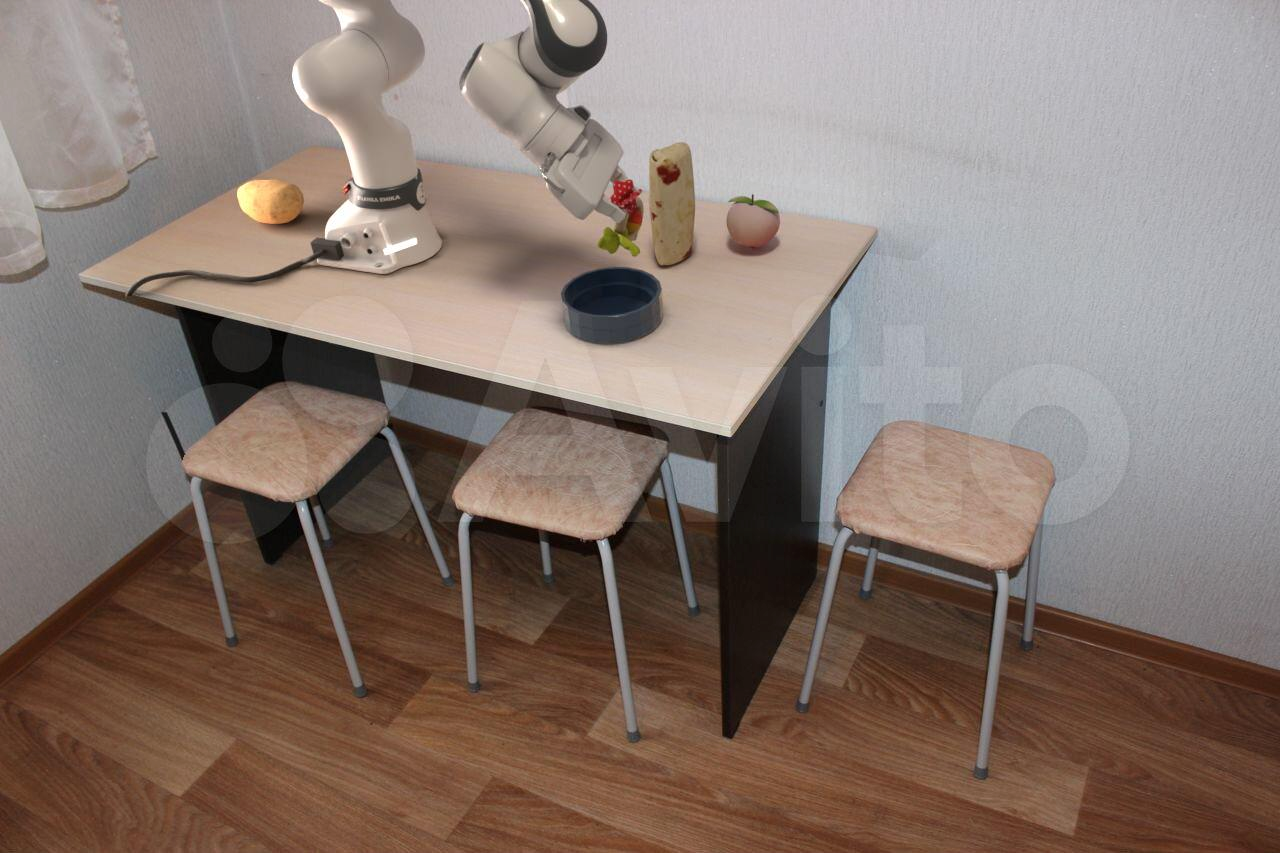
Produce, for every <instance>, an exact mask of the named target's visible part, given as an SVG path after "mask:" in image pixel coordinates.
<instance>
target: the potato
mask: <svg viewBox="0 0 1280 853" xmlns="http://www.w3.org/2000/svg"><path fill="white" fill-rule="evenodd" d="M236 194H237V196H236V197H237V200H238V203H239V204H238V205H239V206H240V209H241V211H243V212H244V213H245V214H246V215H247V216H248V217H250V218H251V219H252V220H254V221H256V222H259V223H262V224H267V225H268V224H270V225H271V224H273V225H276V224H277V225H279V224H287V223H290V222H291V221H293V220H295V219H296V218H297V217H298V215H300V213H301V212H302V210H303V207H304V203H305V198H304V194H303V192H302V190H301V189H300V187H299V186H297V185H295V184H294V183H290V182H286V181H284V180H281V179H253V180H250V181H247V182H246V183H244V184H242V185H241V186H240V187H238V189H237V193H236Z"/></svg>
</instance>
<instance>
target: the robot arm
mask: <svg viewBox="0 0 1280 853" xmlns="http://www.w3.org/2000/svg"><path fill="white" fill-rule="evenodd" d="M318 1H319V2H320V3H322V4H323V5H326V6H328V7H331V8H332V9H333V10H334V12H335V14H336V16H337V18H338V20H339V23H340V32H339V33H337V34H333V35H332V36H330V37H328V38H325V39H322V40H320V41H318V42H316V43H314V44H312V46H310V48H308V49H307V50H306V51H305V52H303V53H302V54H301V55H300V56H299V57H298V58H297V59H296V60H295V62H294V64H293V67H292V72H291V73H292V82H293V86H294V89H295V92H296V94H297V96H298V97H299V99H300V100H301V102H302V103H303V104H304V105H305V106H306V107H307V108H308V109H310V110H311V111H313V112H314V113H316V114H318V115H320V116H323V117H324V118H326V119H327V120H328V121H329V122H330V123H331V124H332V125H333V127H334V129H336V131H337V132H338V134H339V136H340V138H341V140H342V143H343V146H344V148H345V153H346V156H347V159H348V162H349V166H350V169H351V178H349V179H348V180H347V181H346V182H345V185H344V186H343V187H342V189H341V191H343V193H342V194H343V196H346V195H347V194H348V199H347V200H346V201H345V202H344V203H343V204H341V206H340V207H339V208H338V209H337V210H336V211H335V212H334V213H333V214H332V215H331V216H330V217H329V219H328V221H327V222H326V225H325V229H324V237H318V236H317V237H315V238H314V239H313V240H311V241H310V243H309V244H310V247H311V251H312V255H310V256H307V257H305V258H303V259H300V260H298V261H294V262H293V263H291V264H289V265H286V266H284V267H282V268H279V269H278V270H275V271H273V272H270V273H265V274H261V275H256V276H241V275H233V274H225V273H214V272H210V271H209V272H208V271H203V270H197V269H183V270H182V269H181V270H175V271H174V270H173V271H167V272H160V273H154V274H150V275H147V276H145V277H144V276H143V277H142V278H140V279H138V280H137V281H135V283H133V284H132V285H131V286H130V287H129V289H127V292H126V293H125V297H131V296H133V295H134V293H135V292H137V290H138V289H139V288H140V287H142V286H143V285H146V284H147V283H150V282H152V281H157V280H161V279H168V278H169V279H170V278H177V277H183V276H195V277H201V278H207V279H211V280H212V279H213V280H221V281H230V282H236V283H258V282H263V281H268V280H272V279H274V278H277V277H280V276H282V275H284V274H287V273H289V272H291V271H293V270H295V269H297V268H300V267H302V266H304V265H307V264H310V263H311V262H314V261H316V263H317V264H318V265H320V266H324V267H332V268H339V269H344V270H352V271H359V272H366V273H371V274H372V273H373V274H379V275H388V274H391V273H393V272H395V271H397V270H399V269H402V268H405V267H408V266H413V265H416V264H419V263H422V262H424V261H426V260H428V259H430V258H432V257H434V256H436V254H437V253H438V252H439V251H440V250H441V248H442V246H443V240H442V238H441V237H440V235H439V233H438V231H437V229H436V227H435V224H434V221H433V219H432V217H431V214H430V211H429V208H428V205H427V194H426V187H425V184H424V180H423V175H422V172H421V169H420V168H419V167H418V163H417V159H416V153H415V148H414V144H413V139H412V134H411V131H410V129H409V126H407V125H406V124H405V123H404V122H403V121H401V120H400V119H399V118H396V117H393V116H391V115H388V113H387V111H386V109H385V107H384V103H383V101H382V100H383V98H382V96H383V94H385V93H387V92H388V91H390V90H392V89H394V88H396V87H397V86H399V85H401V84H403V83H405V82H406V81H407V80H408V79H410V78H411V76H413V75H414V74H415V73H416V72H417V71H418V70H419V69H420V68H421V66H422V64H423V63H424V60H425V57H426V49H425V43H424V42H425V41H424V40H423V37H422V35H421V33H420V31H419V30H418V28H417V27H416V25H414V23H413V22H412V21H411V20H409V19H408V18H407V17H405V16H403V15H402V14H400V12H399V11H397V9H396V8H395V6H394V4H393V3H392V1H391V0H318ZM519 2H521V4H522V6H523V7H524V8H525V10H526V13H527V15H528V20H529V26H527V28H525V30H521V31H520V32H518V33H516V34H513V35H512V36H509V37H507V38H504V39H501V40H497V41H492V42H486V41H485V42H481V44H479V45H478V46H477V47H476V48H475V49H474V51H473V53H472V55H471V57H470V59H468V62H467V63H466V65H465V67H464V69H463V70H462V73H461V75H460V78H459V83H458V85H459V91H460V93H461V95H462V96H463V98H464V100H465V101H466V102H467V103H468V104H469V105H470V106H471V108H472V109H473V110H475V112H476V113H477V114H478V115H479V116H480V117H482V119H483V120H485V121H486V122H487V123H488V124H489V125H490V126H491V127H492V128H493V129H494V130H495V131H496V132H498V133H501V134H503V135H504V136H506V137H507V138H509V139H510V140H511V141H512V143H513V144H514V145H515V147H516V148H517V150H518V151H519V152H520V153H521V154H523V155H524V156H525V157H526V158H527V159H528V160H529V161H530V162H532V163H533V164H534V165H535V166H536V167H537V168H538V169H539V171H540V173H541V175H542V179H543V180H544V182H545V186H546V188H547V189H548V191H549V193H551V195H552V196H553V197H554V198H555V199H556V200H557V201H558V202H559V203H560V204H561V205H562V206H563V207H564V208H565V209H566V210H567V211H568V212H569V213H570V214H571V215H572V216H573V217H574V218H576V219H579V220H582V221H583V220H586V219H587V218H588V217H589V215H591V214H592V212H594V211H596V212H597V213H598V214H601V215H604V216H606V217H609V218H610V219H611V220H613V222H614V223H615V222H616V223H620V222H621V221H622V220H623V219H624V218H625V216H626V213H627V211H626V210H625V209H623V207H622V206H621V205H620V204H619V205H618V206H617V205H615V204H613V203H611V200H610V197H608V196H607V195H605V191H606V189H607V187H608V186H609V183H613V182H614V181H615V180H617V181H622V182H625V181H626V180H629V179H630V178H629V177H628V176H627V174H626V173H625V171H624V170H623V169H622V167H620V166H619V163H620V162H621V160H622V158H623V156H624V153H625V152H624V149H623V148H622V146H621V144H620V143H619V141H618V140H617V139H616V138H615V137H614V136H613V135H612V134H611V133H610V132H609V131H608V129H606V128H605V127H604V126H603V125H602V124H601V123H600V122H598V121H597V120H595V119H593V118H591V117H592V113H591V111H590V110H589V109H588V108H586V107H585V106H584V105H582V104H581V105H580V104H579V105H576V106H573V107H567V108H566V106H565V105H563V103H561V101H559V100H558V98H557V95H560V94H561V93H563V92H565V91H566V90H568V88H569V87H571V85H573V84H574V83H575V82H577V80H578V79H579V78H580V77H581V76H583V75H584V74H585V73H587V72H588V71H590V70H591V69H593V68H594V67H596V66H597V65H598V64H599V63H600V62H601V60H602V59H603V57H604V55H605V53H606V50H607V46H608V30H607V25H606V23H605V20H604V18H603V16H602V14H601V12H600V10H598V8H597V7H596V6H595V4H593V3H592V2H591V1H590V0H519ZM633 186H634V192H633V193H635V192H636V191H637V190H638V188H637V186H635V185H634V184H633ZM160 413H161V416H162V418H163V420H164V422H165V425H166V427H167V429H168V431H169V433H170V436H171V438H172V440H173V443H174V445H175V447H176V450H177V452H178V455H179V457H180V459H181V460H180V461H182V460H183V457H184V455H186V453H185V450H184V447H183V446H182V443H181V441H180V439H179V436H178V433H177V432H176V429H175V427H174V425H173V423H172V420H171V418H170V416H169V414H168V412H167V411H160Z"/></svg>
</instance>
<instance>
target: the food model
mask: <svg viewBox="0 0 1280 853" xmlns="http://www.w3.org/2000/svg"><path fill="white" fill-rule="evenodd" d="M692 158H693V157H692V152H691V148H690V146H689V144H688V143H687V142H683V141H682V142H675V143H673V144H670V145H668V146H666V147H662V148H656V149H654V150H652V151H651V152H650V154H649V159H648V160H649V161H648V162H649V166H648V170H649V174H648V175H649V176H648V179H649V184H648V185H649V192H648V193H649V196H648V197H649V199H648V206H649V207H648V208H649V215H650V217H649V218H650V225H651V234H652V241H653V249H654V253H655V258H656V261H657V263H658V265H660V266H671V265H675V264H677V263H679V262H681V261H684V260H685V259H686V258H687V257H689V255H691V254H692V250H693V242H694V232H695V216H696V192H695V190H696V189H695V177H694V176H695V175H694V167H693V159H692Z"/></svg>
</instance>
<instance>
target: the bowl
mask: <svg viewBox="0 0 1280 853" xmlns="http://www.w3.org/2000/svg"><path fill="white" fill-rule="evenodd" d="M560 298H561V299H560V300H561V307H562V316H563V321H564V327H565V328H566V330H567V331H568V332H569V333H570V334H571V335H573V336H575V337H576V338H579V339H580V340H583V341H588V342H592V343H597V344H599V343H600V344H615V343H623V342H629V341H632V340H635V339H638V338H642V337H643V336H645V335H647V334H650V333H651V332H653V331H654V330H655V329H656V328H657V327H658V326H659V325H660V324H661V323H662V319H663V316H664V302H663V288H662V285H661V281H660V280H658V278H657V277H655V276H654V275H653V274H652V273H650V272H648V271H646V270H643V269H639V268H633V267H630V266H610V267H601V268H596V269H591V270H588V271H585V272H583V273H580V274H579V275H577V276H575V277H573V278H572V279H570V280H568V282H567V283H566V284H565V285H563V288H562V290H561V292H560Z"/></svg>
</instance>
